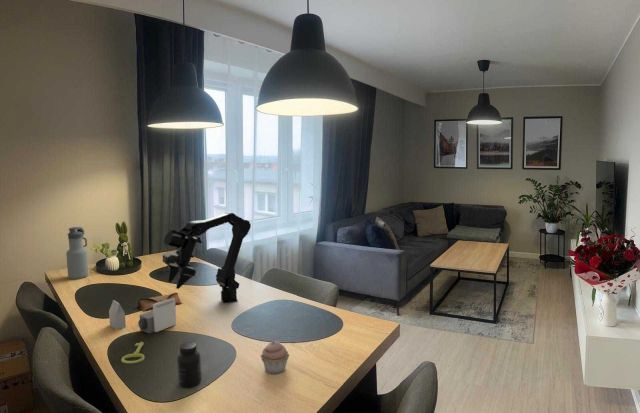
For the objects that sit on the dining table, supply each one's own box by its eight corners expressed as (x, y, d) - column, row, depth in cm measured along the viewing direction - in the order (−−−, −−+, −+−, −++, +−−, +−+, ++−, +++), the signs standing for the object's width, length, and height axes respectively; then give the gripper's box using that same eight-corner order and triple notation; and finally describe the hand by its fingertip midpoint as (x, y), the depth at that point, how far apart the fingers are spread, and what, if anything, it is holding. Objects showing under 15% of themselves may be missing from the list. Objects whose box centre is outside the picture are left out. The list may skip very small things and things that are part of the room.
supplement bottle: (192, 374, 129) (190, 338, 128) (206, 381, 126) (205, 344, 124) (173, 384, 124) (171, 346, 122) (187, 391, 120) (186, 353, 118)
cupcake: (261, 362, 137) (261, 334, 135) (289, 361, 137) (289, 333, 136) (259, 377, 127) (258, 347, 126) (289, 377, 128) (288, 346, 127)
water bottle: (76, 273, 235) (73, 225, 231) (92, 274, 234) (89, 226, 230) (64, 279, 225) (59, 229, 221) (80, 279, 224) (76, 229, 220)
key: (143, 346, 149) (143, 340, 148) (145, 362, 138) (144, 356, 137) (122, 350, 146) (121, 344, 145) (121, 367, 135) (120, 361, 134)
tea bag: (116, 330, 161) (114, 305, 160) (109, 324, 166) (108, 301, 165) (125, 327, 164) (124, 303, 163) (119, 322, 169) (117, 298, 167)
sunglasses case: (142, 312, 179) (139, 297, 181) (139, 315, 184) (137, 301, 186) (183, 303, 189) (180, 289, 191) (180, 307, 195) (177, 293, 197)
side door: (174, 323, 166) (173, 297, 165) (176, 324, 166) (175, 298, 164) (154, 331, 159) (152, 304, 158) (156, 332, 158) (155, 305, 157)
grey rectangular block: (163, 321, 169) (162, 307, 169) (171, 325, 166) (171, 310, 165) (137, 330, 161) (136, 316, 160) (146, 334, 157) (145, 319, 156)
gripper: (161, 240, 177) (147, 275, 175) (177, 251, 163) (162, 288, 161) (184, 247, 184) (172, 280, 183) (202, 257, 170) (188, 293, 169)
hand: (173, 285), depth 174 cm, fingers open, 9 cm apart
